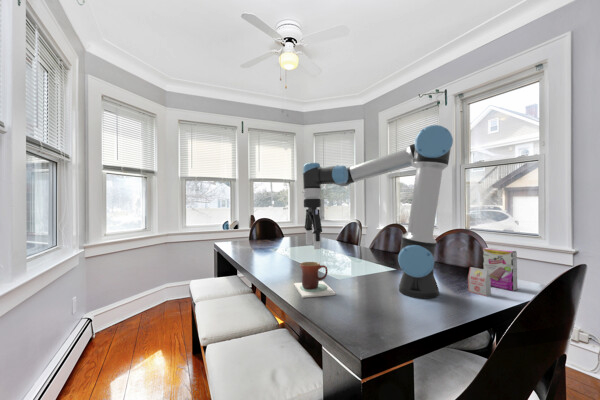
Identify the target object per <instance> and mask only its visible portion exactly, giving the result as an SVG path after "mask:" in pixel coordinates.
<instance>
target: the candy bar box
mask: <svg viewBox="0 0 600 400" xmlns="http://www.w3.org/2000/svg"><path fill="white" fill-rule="evenodd" d="M517 256H518V255H517V250H512V249H504V248H503V249H502V248H495V247H494V248H493V247H484V248H482V266H483V267H482V269H484V270H488V273H489V277H490V280H491V288H492V287H493V288H497V289H502V290H506V291H511V292H515V291H516V290H518V261H517V260H518V259H517Z"/></svg>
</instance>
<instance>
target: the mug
mask: <svg viewBox="0 0 600 400" xmlns="http://www.w3.org/2000/svg"><path fill="white" fill-rule="evenodd" d="M299 266H300V269H301V283H302V287H303V288H305V289H316V288H317V287H318V285H319V281H324V279H326V278H327V275H328V272H329V271H328V267H327V266H326V265H321V263H320V262H316V261H304V262H300V263H299ZM322 268H324V269H325V273H324V275H323V276H319V270H320V269H322Z"/></svg>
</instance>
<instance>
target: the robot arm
mask: <svg viewBox="0 0 600 400" xmlns="http://www.w3.org/2000/svg"><path fill="white" fill-rule="evenodd" d="M453 143H454V139H453V135H452V134H451V131H450V130H449V129H448V128H446V127H445V126H442V125H439V124H433V125H432V124H431V125H428V126H426V127H424V128H422V129H421V130H420V131H419V132H418V133H417V134H416V137H415V138H414V143H412V144H409V145H408V146H407V148H405V149H401V150H399V151H396V152H392V153H390V154H389V153H388V154H387V155H383V156H382V155H381V156H380V157H376V158H374V159H371V160H366V161H364V162H360V163H357V164H354V165H351V166H349V167H347V166H346V165H332V166H321V164H320V163H319V162H308V163H307V162H306V163H305V164H303V167H302V175H303V177H302V179H303V190H302V194H303V207H304V208H307V209H306V210H305V221H304V229H305V245H307V246H312V245H313V250H321V246H322V245H321V242H322V241H321V233H323V229H322V222H321V221H322V220H321V213H320V209H317V208H321V206H322V205H321V204H322V203H321V202H322V201H321V197H322V194H321V190H322V189H321V185H335V186H340V187H347V186H350V185H351V184H353V183H357V182H360V181H364V180H368V179H370V178H374V177H377V176H382V175H385V174H389V173H392V172H396V171H398V170H399V171H400V170H402V169H406V168H410V167H414V168H415V169H416V171H415V177H414V184H413V189H412V190H413V191H412V198H411V205H410V212H409V219H408V226H407V231H406V232H405V233H404V234H402V237H401V244H400V249H399V253H398V256H397V261H398V262H397V263H398V264H399V267H400V269H401V270H402V274H401V278H400V282H399V284H398V291H399V293H401V294H402V295H405V296H408V297H412V298H418V299H434V298H437V297H439V296H440V288H439V286H438V283H437V281H436V278H435V275H434V274H435V273H434V267H435V263H436V262H435V255H436V248H437V240H436V239H435V238H434V229H435V224H436V217H437V211H438V210H437V209H438V203H439V196H440V191H441V183H442V177H443V176H442V175H443V171H444V170H445V169H446V168H447V167H449V163H450V155H451V149H452V147H453Z"/></svg>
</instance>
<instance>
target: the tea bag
mask: <svg viewBox="0 0 600 400" xmlns="http://www.w3.org/2000/svg"><path fill="white" fill-rule="evenodd" d="M467 291H468V292H467V293H470V294H471V293H472V294H476V295H480V296H482V297H488V296H491V295H492V286H491V280H490V277H489V273H488V270H484V269H483V268H478V267H474V266H473V267H472V266H469V270H468V275H467Z"/></svg>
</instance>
